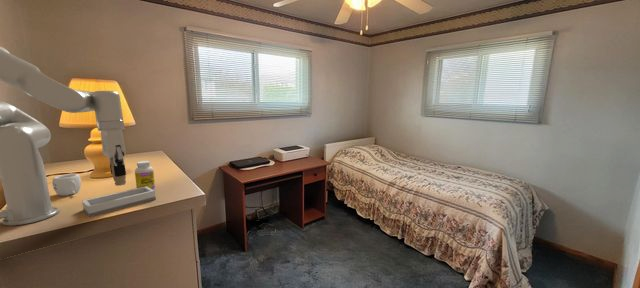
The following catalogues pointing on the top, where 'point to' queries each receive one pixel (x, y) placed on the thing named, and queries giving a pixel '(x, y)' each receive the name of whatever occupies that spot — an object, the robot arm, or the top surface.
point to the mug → (67, 184)
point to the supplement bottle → (144, 175)
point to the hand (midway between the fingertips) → (118, 174)
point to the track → (118, 200)
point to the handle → (120, 179)
